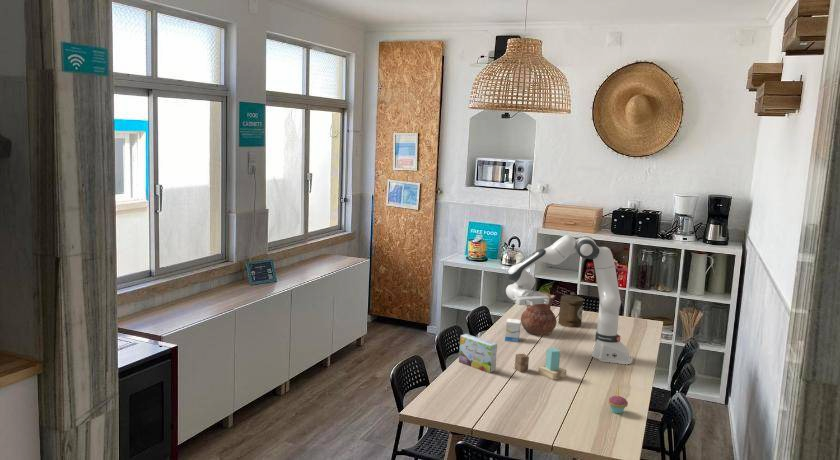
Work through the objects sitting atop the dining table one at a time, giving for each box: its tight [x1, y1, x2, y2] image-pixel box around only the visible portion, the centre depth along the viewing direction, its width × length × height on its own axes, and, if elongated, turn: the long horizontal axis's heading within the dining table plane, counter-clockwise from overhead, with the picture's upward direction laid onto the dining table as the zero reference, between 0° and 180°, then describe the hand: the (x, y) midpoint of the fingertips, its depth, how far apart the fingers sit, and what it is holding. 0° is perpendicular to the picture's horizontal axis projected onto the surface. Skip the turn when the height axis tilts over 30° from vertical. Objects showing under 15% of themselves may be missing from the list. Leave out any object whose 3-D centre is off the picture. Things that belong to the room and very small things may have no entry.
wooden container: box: [558, 291, 584, 328], centre depth 441 cm, size 15×15×22 cm
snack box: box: [458, 333, 498, 374], centre depth 351 cm, size 21×6×15 cm, turn 47°
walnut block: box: [514, 353, 530, 373], centre depth 350 cm, size 5×5×8 cm
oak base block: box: [537, 365, 567, 381], centre depth 346 cm, size 10×10×4 cm
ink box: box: [504, 318, 522, 343], centre depth 402 cm, size 9×8×12 cm
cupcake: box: [608, 386, 629, 414], centre depth 303 cm, size 9×8×12 cm
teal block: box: [544, 347, 561, 370], centre depth 345 cm, size 5×5×10 cm
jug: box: [520, 290, 557, 336], centre depth 418 cm, size 22×21×25 cm
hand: (540, 303), depth 364 cm, fingers open, 8 cm apart
